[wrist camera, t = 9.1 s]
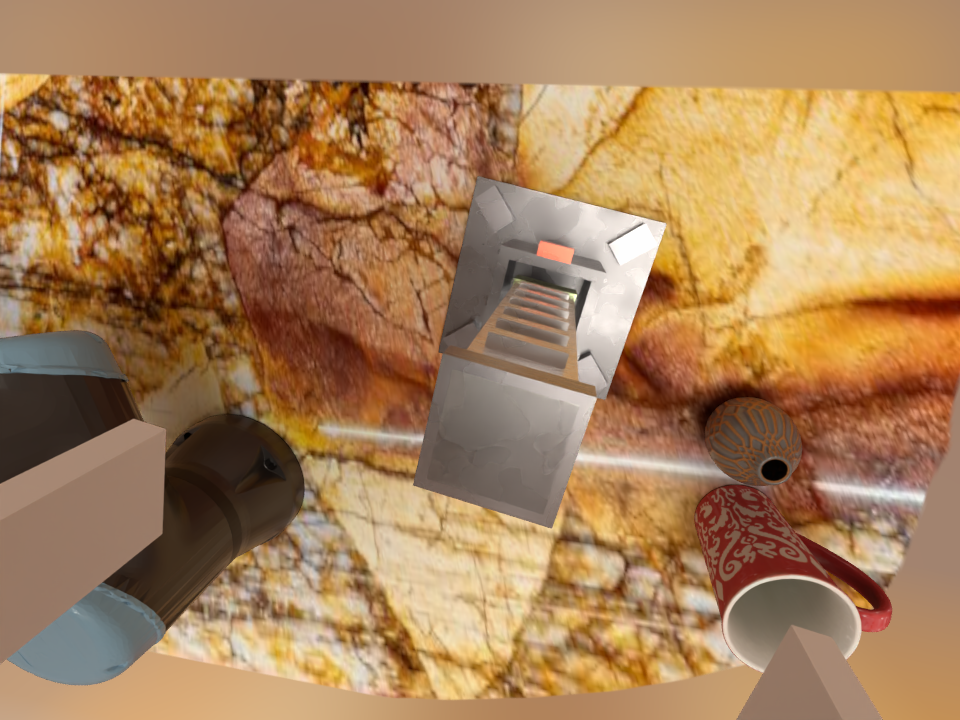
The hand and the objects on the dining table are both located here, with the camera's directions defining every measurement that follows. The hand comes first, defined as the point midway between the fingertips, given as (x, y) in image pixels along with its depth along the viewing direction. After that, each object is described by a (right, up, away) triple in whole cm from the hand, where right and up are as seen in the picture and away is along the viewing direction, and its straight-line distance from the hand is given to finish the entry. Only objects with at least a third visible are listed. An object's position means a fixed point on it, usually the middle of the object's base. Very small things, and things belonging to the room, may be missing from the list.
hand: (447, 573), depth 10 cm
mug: (+27, -11, +38) cm, 47 cm away
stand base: (+6, +11, +34) cm, 37 cm away
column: (+5, +8, +26) cm, 28 cm away
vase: (+24, -1, +35) cm, 43 cm away
